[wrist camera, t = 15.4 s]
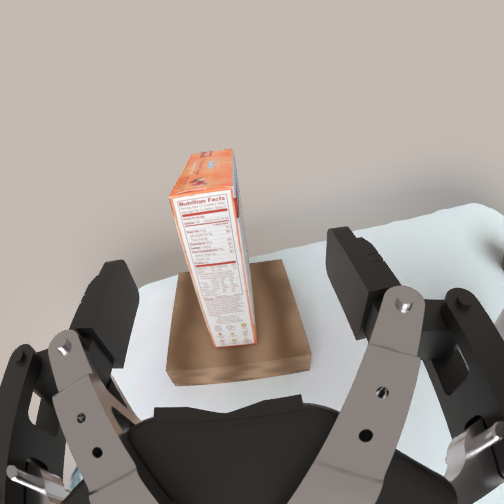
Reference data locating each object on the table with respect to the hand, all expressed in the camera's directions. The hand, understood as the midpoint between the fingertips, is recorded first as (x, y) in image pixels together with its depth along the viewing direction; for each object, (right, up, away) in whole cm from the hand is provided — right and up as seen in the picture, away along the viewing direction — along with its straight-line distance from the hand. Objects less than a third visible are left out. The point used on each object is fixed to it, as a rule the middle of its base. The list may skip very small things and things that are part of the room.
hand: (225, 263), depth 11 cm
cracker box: (-2, -8, +29) cm, 30 cm away
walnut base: (-1, -11, +31) cm, 33 cm away
